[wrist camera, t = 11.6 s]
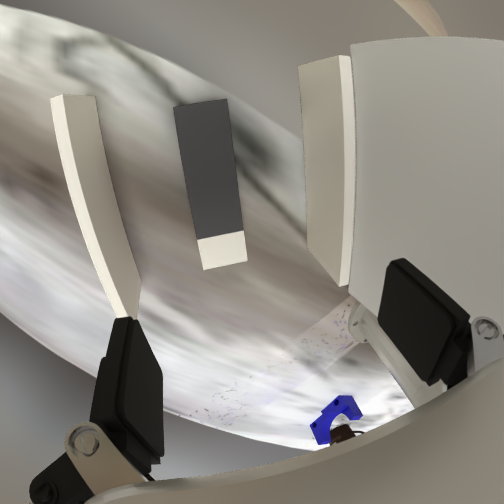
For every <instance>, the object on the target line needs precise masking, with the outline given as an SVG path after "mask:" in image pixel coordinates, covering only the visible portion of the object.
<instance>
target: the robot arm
mask: <svg viewBox="0 0 504 504" xmlns="http://www.w3.org/2000/svg"><path fill="white" fill-rule="evenodd" d="M470 317H471V316H470V315H469V314H468V313H467V312H466V311H465V310H464V309H463V308H462V307H461V306H460V305H459V304H458V303H457V302H455V301H454V300H453V299H452V298H451V297H450V296H449V295H448V294H447V293H446V292H444V291H443V290H442V289H441V288H440V287H439V286H438V285H436V284H435V283H434V282H433V281H432V280H431V279H430V278H428V277H427V276H426V275H425V274H424V273H422V272H421V271H420V270H419V269H418V268H417V267H415V266H414V265H413V264H412V263H410V262H409V261H408V260H407V259H405V258H399V259H396V260H392V261H390V263H389V265H388V266H387V268H386V273H385V280H384V286H383V291H382V297H381V302H380V307H379V312H378V317H377V316H376V315H374V314H373V313H372V312H371V311H370V310H369V309H367V308H366V307H365V306H364V305H363V304H362V303H360V302H359V301H357V302H356V304H355V305H354V307H353V309H352V311H351V313H350V316H349V320H348V330H349V333H350V334H351V336H352V338H353V339H354V340H355V341H357V342H360V343H370V345H371V346H372V347H373V349H374V350H375V352H376V353H377V354H378V356H379V357H380V359H381V360H382V361H383V363H384V364H385V366H386V367H387V369H388V370H389V371H390V373H391V374H392V376H393V377H394V379H395V380H396V381H397V383H398V384H399V386H400V387H401V389H402V390H403V392H404V393H405V394H406V396H407V397H408V399H409V400H410V402H411V403H412V405H413V406H414V408H415V409H414V410H412V411H410V412H408V413H406V414H404V415H402V416H400V417H398V418H396V419H394V420H392V421H390V422H388V423H386V424H384V425H382V426H379V427H377V428H375V429H373V430H370V431H368V432H366V433H363V434H361V435H358V436H356V437H353V438H351V439H348V440H346V441H343V442H340V443H338V444H335V445H332V446H329V447H326V448H323V449H320V450H317V451H314V452H311V453H308V454H304V455H301V456H298V457H294V458H290V459H287V460H283V461H279V462H275V463H271V464H267V465H262V466H258V467H253V468H248V469H243V470H237V471H231V472H226V473H219V474H213V475H205V476H197V477H189V478H177V479H168V480H158V481H157V480H156V479H155V478H154V477H153V476H152V475H151V474H150V472H151V465H152V464H160V457H163V456H164V431H163V374H162V370H161V368H160V366H159V364H158V362H157V360H156V358H155V356H154V354H153V352H152V350H151V347H150V345H149V343H148V341H147V339H146V337H145V335H144V332H143V330H142V328H141V326H140V323H139V321H138V320H137V319H135V320H133V318H132V317H131V316H127V317H121V318H116V319H115V321H114V324H113V328H112V332H111V336H110V340H109V345H108V349H107V353H106V357H103V358H102V359H101V362H100V366H99V371H98V375H97V380H96V385H95V391H94V397H93V402H92V407H91V414H90V420H89V422H81V423H78V424H76V425H74V426H73V427H72V428H71V429H70V430H69V431H68V433H67V434H66V437H65V441H64V443H65V449H66V452H65V453H64V454H63V455H62V456H61V457H59V458H58V459H57V460H56V461H54V462H53V463H52V464H51V465H49V466H48V467H47V468H46V469H45V470H43V471H42V472H41V473H40V474H39V475H37V476H36V477H35V478H34V479H33V480H32V482H31V484H30V489H29V493H30V498H31V501H30V502H27V501H26V503H25V504H504V334H502V330H501V327H500V326H499V325H498V323H497V322H495V321H494V320H493V319H491V318H488V317H485V316H480V317H476V318H475V319H474V320H473V321H472V323H470V322H469V319H470Z"/></svg>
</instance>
